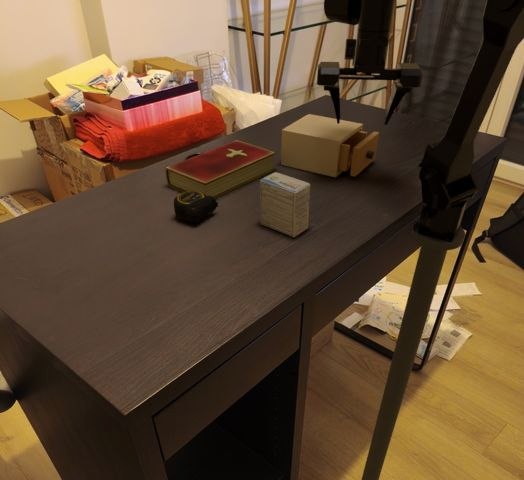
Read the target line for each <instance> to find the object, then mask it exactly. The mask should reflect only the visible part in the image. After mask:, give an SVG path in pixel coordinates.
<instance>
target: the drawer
mask: <svg viewBox="0 0 524 480" xmlns="http://www.w3.org/2000/svg"><path fill="white" fill-rule="evenodd" d="M379 138H380V131H373V132H372V133H370V134H369V135H368V132H367V131H363V130H362V131H357V132H356V133H355V134H353V135H352V136H351V137H349V138H348V139H347V140H345V141H344V142H343V143H341V144H340V153H339V162H338V170H341V171H343V172H347V171H349V169H350V173H349V176H351V177H357V176H358V175H359V174H361V172H363V171H364V169H366V168H367V167H369V165H371V163H372V162H374V161H375V160H376V157H377V150H378V143H379Z"/></svg>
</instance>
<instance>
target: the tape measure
mask: <svg viewBox="0 0 524 480" xmlns="http://www.w3.org/2000/svg"><path fill="white" fill-rule="evenodd" d="M216 199H217V198H216ZM216 199H215V198H214V197H213V196H206V195H205V194H204V193H202V192H198V191H187V192H181V193H179V194H177V195H176V196H175V197H174V199H173V210H174V214H175V216H176V217H177V218H178V219H180V220H181V221H186V222H192V223H196V222H199V221H200V220H201V219H203V218H204V217H206V216H208V215H209V214H212V213H213V212H214V211H216V209H217V208H218V207H219V202H218V201H217V200H216Z"/></svg>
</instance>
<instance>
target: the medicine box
mask: <svg viewBox="0 0 524 480" xmlns="http://www.w3.org/2000/svg"><path fill="white" fill-rule="evenodd" d="M259 182H260V183H259V192H260V197H259V199H260V200H259V201H260V205H259V207H260V225H262V226H264V227H267V228H269V229H271V230H274V231H277V232H279V233H282V234H284V235H287V236H289V237H292V238H296V237H297V236H299V235H300V234H301V233H303V232H305V231H306V230H308V229H309V216H310V199H311V184H310V183H309V182H308V181H307V182H306V181H303V180H301V179H298V178H295V177H292V176H289V175H286V174H283V173H279V172H277V171H274V172H272V173H271V174H267V175H265V176H264V177H263V178H261V179H260V181H259Z"/></svg>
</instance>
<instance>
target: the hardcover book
mask: <svg viewBox="0 0 524 480" xmlns="http://www.w3.org/2000/svg"><path fill="white" fill-rule="evenodd" d="M276 154H277V153H276V151H274V150H273V151H272V150H270V149H266V148H264V147H261V146H257V145H254V144H251V143H248V142H245V141H241V140H238V139H236V140H233V141H230V142H228V143H225V144H222V145H220V146H218V147H215V148H212V149H210V150H208V151H205V152H201V153H200V154H197V155H195V156H192V157H189V158H187V159H184V160H182V161H178V162H177V163H174V164H171V165H169V166H167V167H165V179H166V183H167V186H168V187H170V188H172V189H174V190H177V191H179V192H181V193H183V192H187V191H198V192H202V193H204V194H205V195H206V196H213V197H214V198H215V199H218V198H220V197H222V196H224V195H226V194H228V193H231V192H233V191H235V190H237V189H239V188H241V187H243V186H245V185H248V184H249V183H251V182H254V181H256V180H258V179H260V178H262V177H265V176H267V175H270V173H271V174H272V173H274V172H276V168H275V167H274V156H275V155H276Z"/></svg>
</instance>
